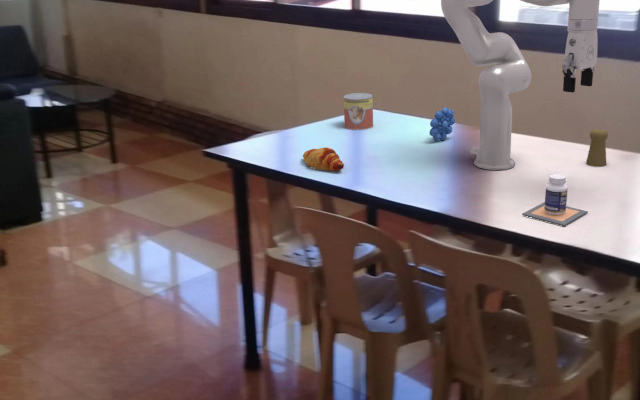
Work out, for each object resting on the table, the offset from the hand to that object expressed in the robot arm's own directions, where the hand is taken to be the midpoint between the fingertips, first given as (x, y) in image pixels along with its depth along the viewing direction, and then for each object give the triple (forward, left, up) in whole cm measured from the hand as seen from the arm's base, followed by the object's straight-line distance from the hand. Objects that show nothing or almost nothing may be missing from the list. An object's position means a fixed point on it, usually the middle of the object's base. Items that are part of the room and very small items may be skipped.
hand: (577, 88), depth 204 cm
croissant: (-70, -30, -29) cm, 82 cm away
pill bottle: (+8, -23, -28) cm, 37 cm away
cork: (-4, +24, -28) cm, 37 cm away
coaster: (+8, -23, -28) cm, 37 cm away
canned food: (-96, +14, -29) cm, 101 cm away
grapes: (-59, +17, -28) cm, 68 cm away
